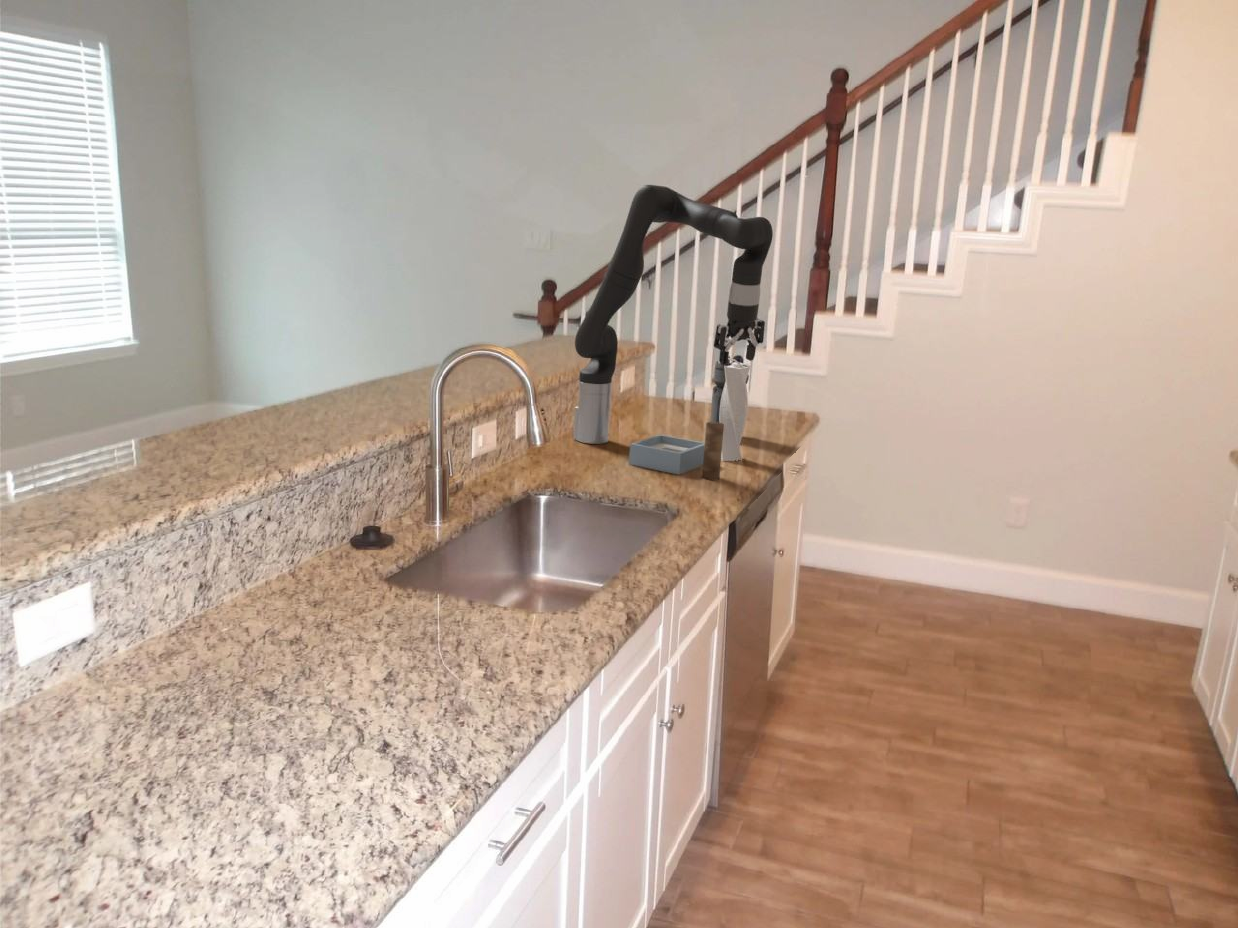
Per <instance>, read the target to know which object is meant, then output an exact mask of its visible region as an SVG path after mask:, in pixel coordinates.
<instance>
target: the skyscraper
mask: <svg viewBox="0 0 1238 928" xmlns="http://www.w3.org/2000/svg"><path fill="white" fill-rule="evenodd" d="M732 358H733V357H732ZM732 358H731V357H730V358H728V360H730V361H731V360H732V362H733V361H735V362H733V363H732V362H731V363H732V365H730V366H726V365H725V366H724V368H725V378H726V382H725V385H724V389H723V393H722V397H721V403H720V415H719V423H723V424H724V430H723V442H722V453H721V459H722V460H721V461H722V462H739V461H738V460H741V461H740V462H743V459H742V454H741V451H740V445H741V442H742V439H743V435H744V431H745V428H746V423H747V419H748V418H747V416H748V406H749V399H748V388H747V384H746V379H747V376H748V375H749V373H750V369H751V366H750V364H749V363H748V364H747V363H744V362H743V363H739V362H738V361H737V360H735V359H732ZM743 365H745V366H748V367H745V366H743ZM735 460H736V461H735Z"/></svg>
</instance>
